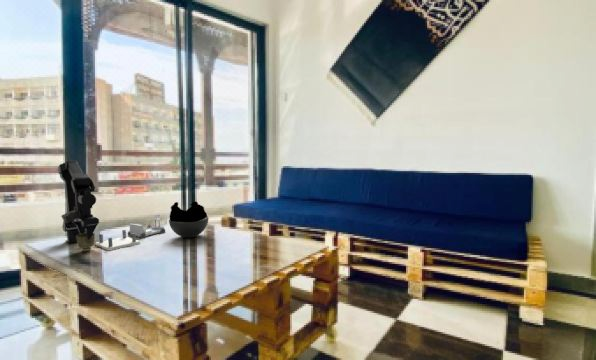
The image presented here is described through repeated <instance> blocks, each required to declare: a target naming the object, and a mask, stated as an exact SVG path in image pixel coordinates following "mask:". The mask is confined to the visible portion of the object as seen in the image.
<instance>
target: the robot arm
mask: <svg viewBox="0 0 596 360" xmlns="http://www.w3.org/2000/svg"><path fill="white" fill-rule="evenodd" d="M57 172H58V174H59V176H60V177H59V178H60V179H61V180H62V181H63V182H64V188H65V189H64V190H65V199H66V207H67V208H66V209H67V211H66V213H64V214H61V216H60V217H61V218H62V220H63V221H62V227H61V228H62V231H63V232H66V234H67V235H66V236H67V239H66V240H65V243H67V244H70V245H71V244H74V243H77V239H76V235H78V236H80V233H82V234H83V233H86V234H87V238H88V239H91V237H92V235H93V234H94V233H95V230H96V227H97V226H98V225H99V224H100V219H99V218H98V217H96V216H94V215H93V214H92V209H93V206H94V205H95V203H97V198H96V196H95V194H93V193H92V192H95V190H96V186H95V184H94V181H93V179H92V178H91V177H90V176H89V175H88V174H85V173H84V172H83V170H82V168H81V167H80V164H79V161H77V160H66V161H65V162H63V163H60V164H59V165H58V167H57Z"/></svg>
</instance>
